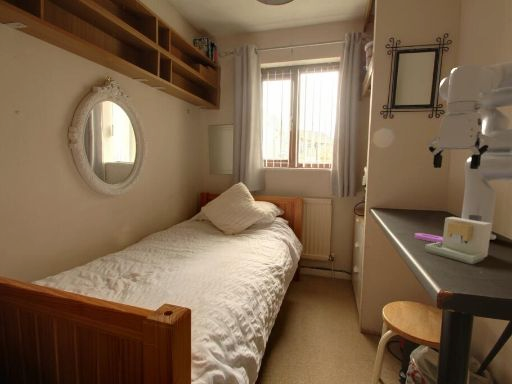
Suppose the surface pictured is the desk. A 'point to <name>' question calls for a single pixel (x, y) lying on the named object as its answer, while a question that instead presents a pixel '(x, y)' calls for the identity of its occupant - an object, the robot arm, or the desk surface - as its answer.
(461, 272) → the desk surface
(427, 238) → the bracket
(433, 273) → the desk surface
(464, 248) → the block
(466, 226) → the block
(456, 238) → the grey upright plate
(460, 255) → the tray
